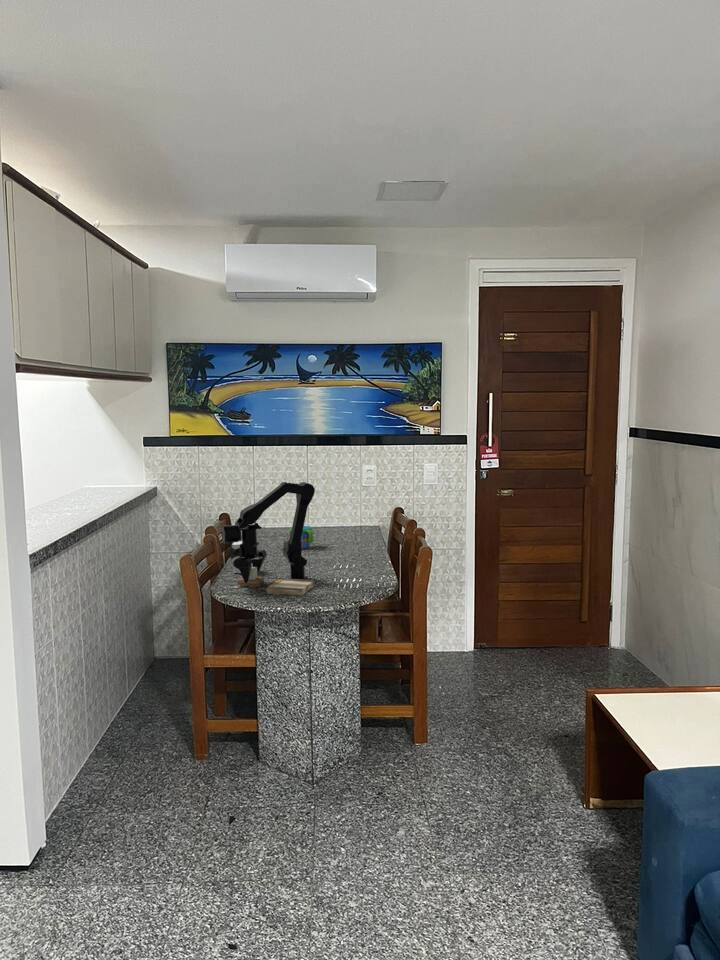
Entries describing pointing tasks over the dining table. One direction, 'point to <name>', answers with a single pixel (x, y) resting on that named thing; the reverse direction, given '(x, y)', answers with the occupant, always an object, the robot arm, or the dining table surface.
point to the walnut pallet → (251, 582)
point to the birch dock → (290, 586)
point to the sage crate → (253, 573)
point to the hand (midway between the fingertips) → (251, 579)
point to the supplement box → (237, 545)
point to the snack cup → (305, 537)
